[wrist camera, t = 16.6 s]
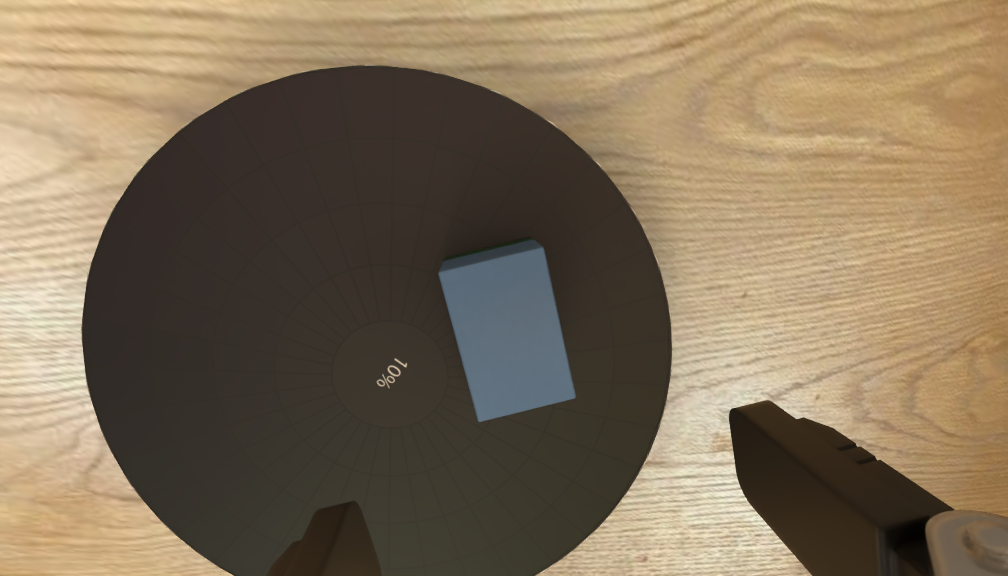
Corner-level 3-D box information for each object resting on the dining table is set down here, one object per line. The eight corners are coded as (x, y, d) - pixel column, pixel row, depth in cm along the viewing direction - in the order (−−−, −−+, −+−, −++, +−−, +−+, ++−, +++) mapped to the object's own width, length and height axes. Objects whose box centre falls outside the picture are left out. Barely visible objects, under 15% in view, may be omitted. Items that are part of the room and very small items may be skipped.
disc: (498, 639, 32) (501, 684, 29) (45, 459, 27) (-7, 492, 24) (747, 254, 27) (781, 262, 24) (258, -42, 22) (226, -77, 20)
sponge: (443, 257, 23) (437, 272, 19) (531, 236, 23) (544, 246, 19) (477, 385, 25) (478, 423, 21) (560, 365, 25) (576, 398, 21)
